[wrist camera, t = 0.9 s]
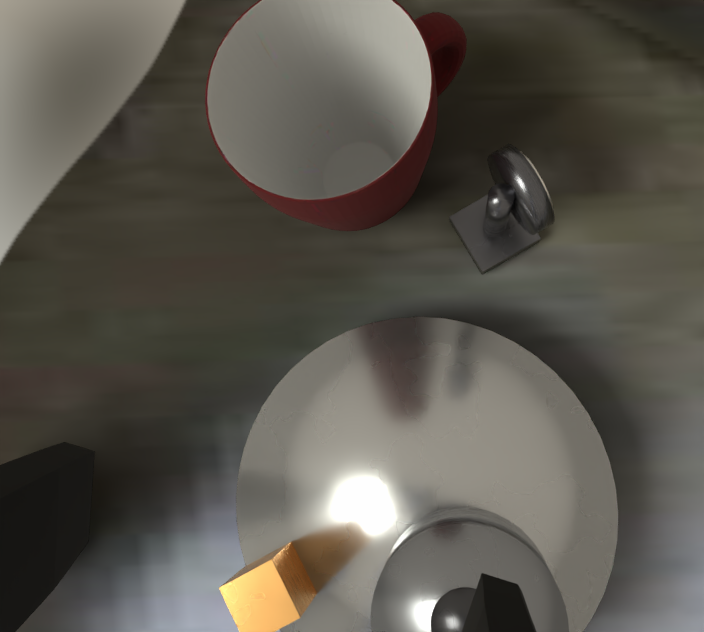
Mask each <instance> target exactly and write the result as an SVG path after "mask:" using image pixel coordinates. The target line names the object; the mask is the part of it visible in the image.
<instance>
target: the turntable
mask: <svg viewBox="0 0 704 632" xmlns="http://www.w3.org/2000/svg"><path fill="white" fill-rule="evenodd" d="M454 507H470V508H478V509H482V510H486V511H490V512H492V513H495V514H497V515H500V516H502V517H503V518H505V519H507V520H509V521H511V522H512V523H513V524H515V525H516V526H518V527H519V528H520V529H521V530H522V531H523V532H524V533H525V534H527V535H528V536H529V538H530V539H531V540H532V541H533V542H534V543H535V545H536V546H537V548H538V549H539V551H540V552H541V554H542V555H543V557H544V559H545V561H546V563H547V566H548V568H549V570H550V572H551V574H552V576H553V578H554V580H555V582H556V584H557V586H558V588H559V590H560V592H561V595H562V598H563V600H564V603H565V607H566V611H567V616H568V624H569V632H583V631H584V629H585V628H586V626H587V625H588V623H589V622H590V620H591V619H592V617H593V615H594V613H595V611H596V609H597V607H598V605H599V603H600V601H601V599H602V597H603V595H604V593H605V590H606V587H607V584H608V581H609V577H610V574H611V571H612V568H613V563H614V557H615V552H616V546H617V536H618V506H617V495H616V487H615V482H614V478H613V473H612V469H611V465H610V461H609V458H608V456H607V453H606V450H605V448H604V445H603V442H602V439H601V437H600V435H599V433H598V431H597V429H596V427H595V425H594V424H593V422H592V420H591V418H590V416H589V414H588V413H587V411H586V410H585V408H584V407H583V405H582V404H581V403H580V401H579V400H578V398H577V397H576V395H575V394H574V393H573V391H572V390H571V389H570V388H569V387H568V386H567V385H566V384H565V383H564V381H563V380H562V379H561V378H560V377H559V376H558V375H557V374H556V373H555V372H554V371H553V370H552V369H551V368H549V367H548V366H547V365H546V364H545V363H543V362H542V361H541V360H540V359H539V358H538V357H536V356H535V355H534V354H532V353H531V352H529V351H527V350H526V349H524V348H523V347H521V346H520V345H518V344H517V343H515V342H513V341H511V340H509V339H507V338H505V337H503V336H501V335H499V334H497V333H495V332H493V331H490V330H487V329H484V328H481V327H478V326H475V325H472V324H469V323H465V322H460V321H455V320H450V319H445V318H432V317H407V318H394V319H389V320H384V321H379V322H374V323H370V324H367V325H364V326H361V327H358V328H355V329H352V330H349V331H347V332H345V333H343V334H341V335H339V336H337V337H335V338H333V339H331V340H329V341H327V342H326V343H324V344H323V345H321V346H320V347H318V348H317V349H315V350H314V351H312V352H311V353H309V354H308V355H307V356H306V357H305V358H303V359H302V360H301V361H300V362H299V363H298V364H297V365H295V366H294V367H293V368H292V369H291V370H290V371H289V372H288V373H287V374H286V376H285V377H284V378H283V379H282V380H281V381H280V382H279V383H278V385H277V386H276V387H275V388H274V390H273V391H272V393H271V394H270V396H269V397H268V399H267V400H266V402H265V403H264V405H263V406H262V408H261V410H260V412H259V414H258V416H257V418H256V420H255V422H254V424H253V426H252V428H251V431H250V433H249V436H248V439H247V442H246V445H245V447H244V450H243V455H242V459H241V464H240V468H239V473H238V483H237V493H236V512H237V526H238V533H239V540H240V546H241V550H242V554H243V557H244V561H245V564H246V566H245V567H244V568H242V569H241V570H240V571H239V572H238V573H236V574H235V575H234V576H233V577H232V578H230V579H229V580H228V581H227V582H226V583H224V584H223V585H222V586H221V587H220V588H219V589H220V591H221V593H222V595H223V598H224V600H225V602H226V604H227V606H228V608H229V610H230V612H231V614H232V617H233V619H234V621H235V623H236V625H237V627H238V629H239V631H240V632H275V631H277V630H279V629H280V631H281V632H371V620H370V616H371V604H372V599H373V594H374V591H375V588H376V585H377V582H378V579H379V577H380V574H381V572H382V570H383V567H384V565H385V563H386V560H387V558H388V556H389V554H390V552H391V550H392V548H393V546H394V544H395V543H396V542H397V540H398V539H399V537H400V536H401V535H402V534H403V533H404V532H405V531H406V529H408V528H409V527H410V526H411V525H412V524H413V523H415V522H416V521H418V520H419V519H421V518H423V517H424V516H426V515H429V514H431V513H433V512H436V511H439V510H443V509H448V508H454Z"/></svg>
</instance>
